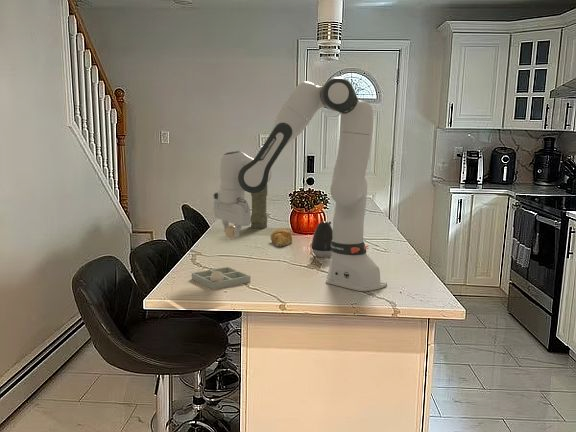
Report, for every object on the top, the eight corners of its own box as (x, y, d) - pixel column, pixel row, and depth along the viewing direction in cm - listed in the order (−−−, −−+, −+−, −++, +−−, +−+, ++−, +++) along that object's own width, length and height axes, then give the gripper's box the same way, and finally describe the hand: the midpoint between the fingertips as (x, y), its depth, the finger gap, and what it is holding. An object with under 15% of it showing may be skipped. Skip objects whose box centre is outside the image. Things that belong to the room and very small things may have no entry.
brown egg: (240, 239, 200) (240, 226, 199) (229, 240, 197) (229, 227, 197) (233, 236, 204) (234, 223, 203) (222, 237, 201) (222, 225, 200)
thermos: (268, 225, 304) (268, 161, 298) (266, 229, 293) (266, 162, 287) (252, 224, 305) (252, 161, 299) (249, 228, 293) (249, 162, 287)
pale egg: (226, 285, 189) (226, 271, 189) (214, 287, 187) (214, 273, 186) (219, 281, 193) (219, 268, 192) (207, 284, 190) (207, 270, 189)
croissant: (286, 255, 251) (294, 240, 249) (266, 244, 250) (274, 229, 249) (288, 244, 271) (296, 230, 270) (270, 234, 271) (278, 220, 269)
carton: (250, 284, 194) (250, 275, 193) (213, 291, 185) (212, 283, 184) (227, 274, 205) (227, 266, 205) (191, 281, 196) (191, 273, 196)
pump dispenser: (339, 255, 237) (340, 220, 234) (327, 260, 228) (328, 224, 226) (319, 252, 242) (320, 218, 240) (306, 257, 234) (307, 221, 231)
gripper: (255, 199, 192) (254, 238, 194) (225, 192, 208) (225, 228, 210) (240, 200, 188) (239, 240, 190) (210, 193, 204) (210, 230, 206)
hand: (231, 234), depth 200 cm, fingers closed on brown egg, 5 cm apart
